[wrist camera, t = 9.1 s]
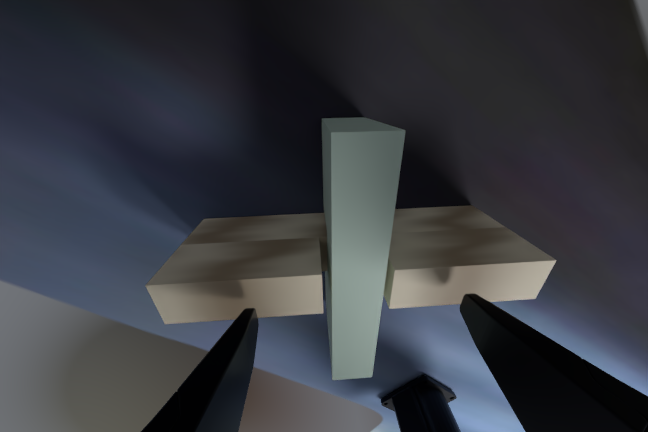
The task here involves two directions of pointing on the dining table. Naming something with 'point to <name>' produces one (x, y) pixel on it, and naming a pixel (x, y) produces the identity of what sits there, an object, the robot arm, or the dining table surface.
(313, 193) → the dining table surface
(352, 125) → the pale green slotted board
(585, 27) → the dining table surface
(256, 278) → the birch slotted board
